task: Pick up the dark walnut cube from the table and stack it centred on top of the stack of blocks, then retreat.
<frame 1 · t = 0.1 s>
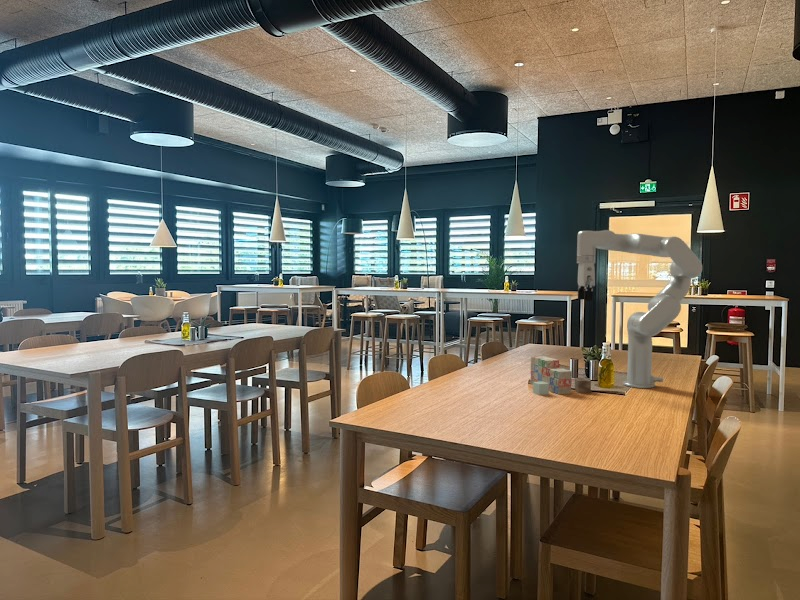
hand: (584, 299, 242), 37 cm above the table, tool pointing down, fingers open, 9 cm apart
stack of blocks: (550, 389, 235), on the table
walnut cube: (582, 391, 230), on the table
sage block: (540, 393, 226), on the table
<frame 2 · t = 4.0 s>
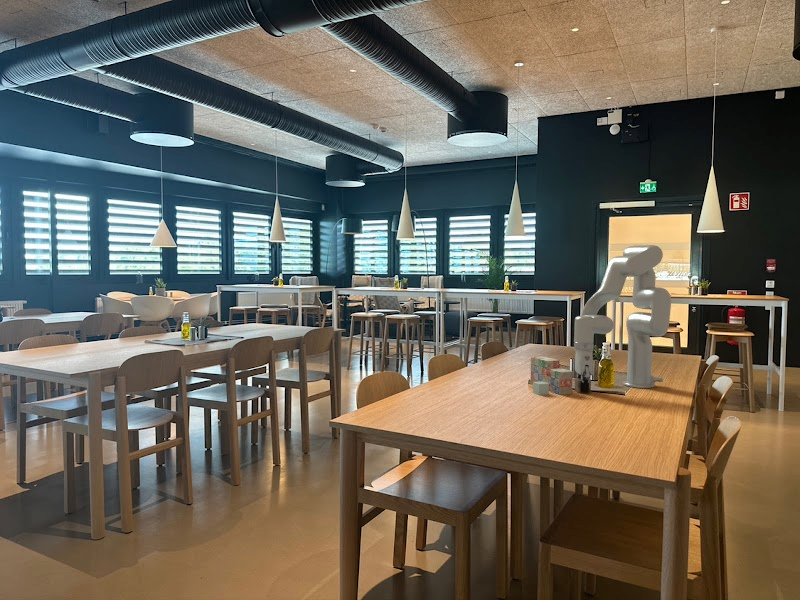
hand: (582, 390, 230), 0 cm above the table, tool pointing down, fingers closed on walnut cube, 5 cm apart
walnut cube: (582, 391, 230), on the table, touching gripper
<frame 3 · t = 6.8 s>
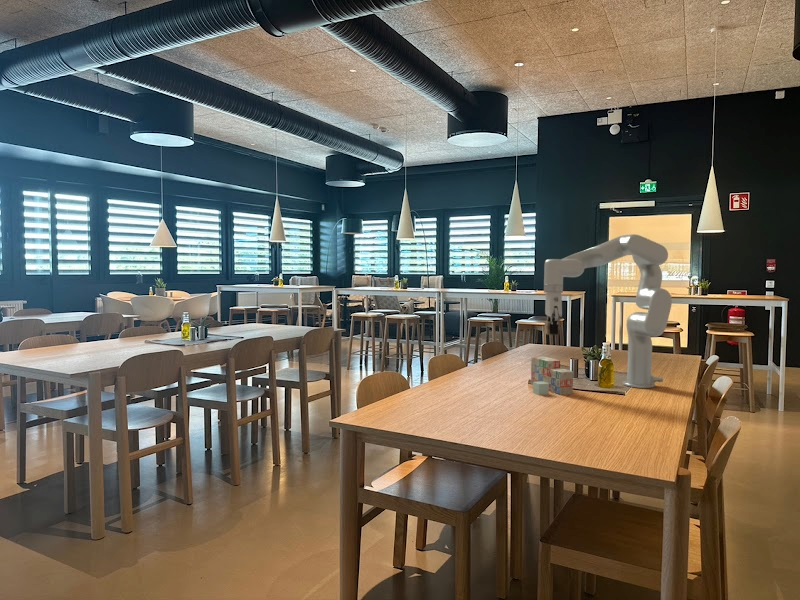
hand: (552, 332, 233), 23 cm above the table, tool pointing down, fingers closed on walnut cube, 5 cm apart
walnut cube: (552, 334, 233), point 23 cm above the table, touching gripper
when the fingers open (13 cm above the table, at t = 9.4 s): walnut cube stays where it is, resting on stack of blocks.
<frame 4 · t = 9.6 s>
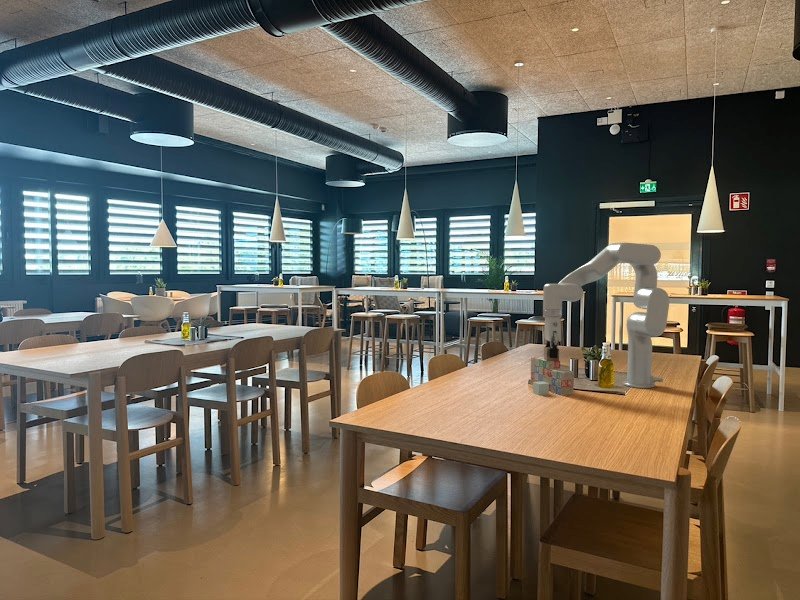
hand: (551, 356, 234), 14 cm above the table, tool pointing down, fingers open, 7 cm apart
stack of blocks: (551, 390, 234), on the table, touching walnut cube
walnut cube: (551, 360, 234), point 12 cm above the table, touching stack of blocks
everything else where it was.
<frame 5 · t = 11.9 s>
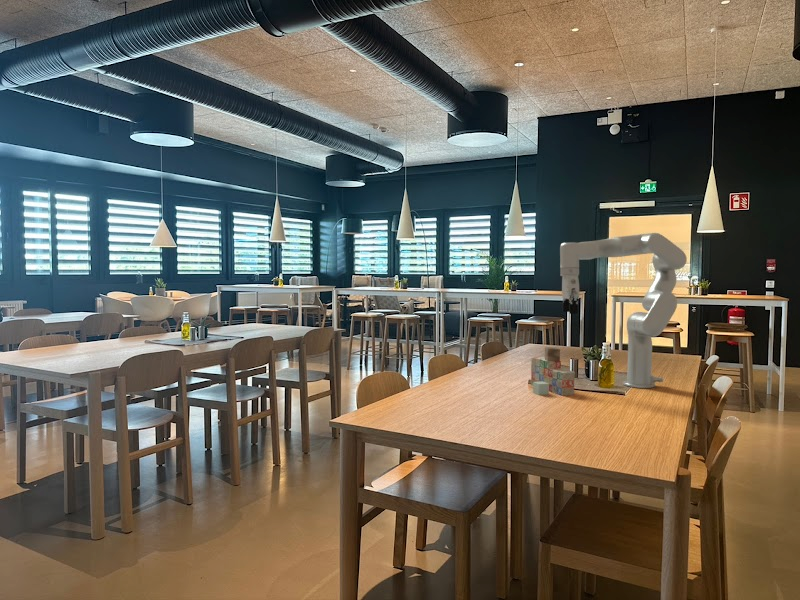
hand: (570, 312, 238), 31 cm above the table, tool pointing down, fingers open, 9 cm apart
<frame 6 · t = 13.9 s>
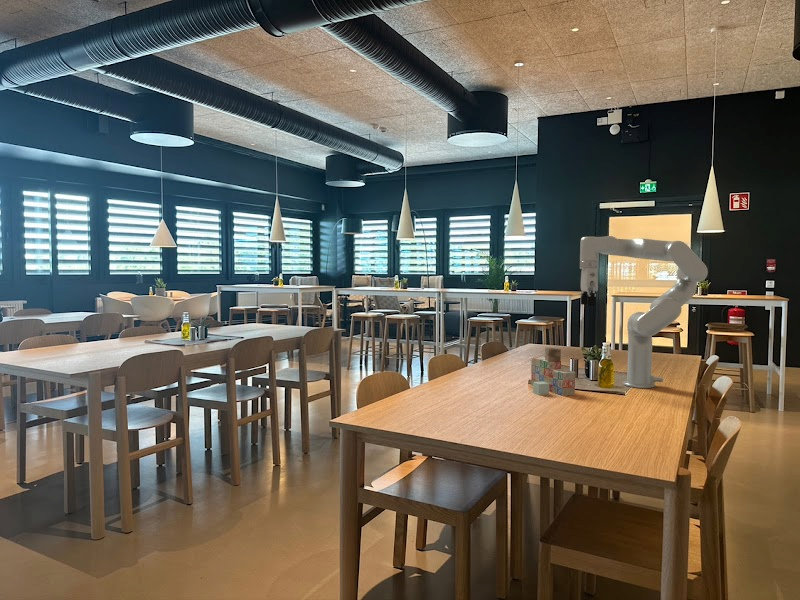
hand: (587, 305, 244), 34 cm above the table, tool pointing down, fingers open, 9 cm apart
at the end: walnut cube inside the target area on the stack of blocks (1.0 cm from its centre), point 12.5 cm above the stack of blocks's base; walnut cube tilted 0°; the gripper is holding nothing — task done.
